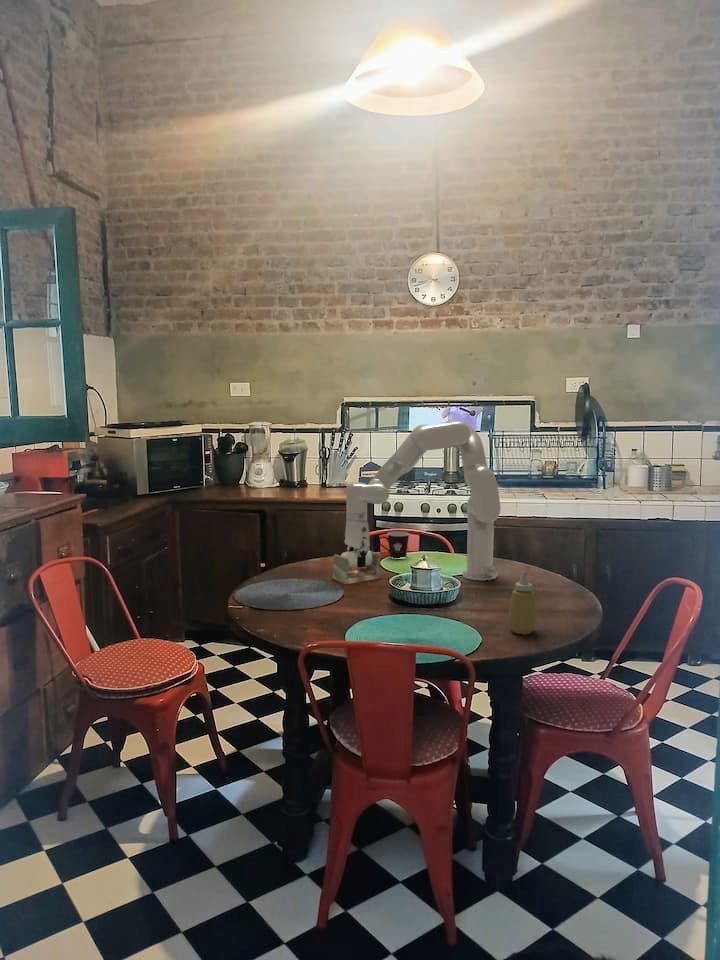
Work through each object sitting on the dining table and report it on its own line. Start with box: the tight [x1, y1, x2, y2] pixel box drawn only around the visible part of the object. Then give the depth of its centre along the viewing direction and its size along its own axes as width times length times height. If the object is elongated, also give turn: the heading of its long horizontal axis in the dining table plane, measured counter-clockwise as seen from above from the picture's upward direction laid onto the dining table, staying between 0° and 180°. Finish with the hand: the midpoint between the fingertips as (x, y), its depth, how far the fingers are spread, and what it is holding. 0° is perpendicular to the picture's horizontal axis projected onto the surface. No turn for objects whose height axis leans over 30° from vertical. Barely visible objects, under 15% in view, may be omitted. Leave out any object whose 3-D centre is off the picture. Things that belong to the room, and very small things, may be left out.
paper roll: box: [340, 549, 372, 570], centre depth 271 cm, size 10×6×6 cm, turn 123°
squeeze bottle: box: [508, 570, 537, 635], centre depth 215 cm, size 8×8×18 cm
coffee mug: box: [378, 531, 410, 558], centre depth 302 cm, size 12×9×10 cm
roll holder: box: [332, 550, 381, 585], centre depth 271 cm, size 15×9×9 cm, turn 123°
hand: (356, 564), depth 271 cm, fingers closed on paper roll, 6 cm apart
